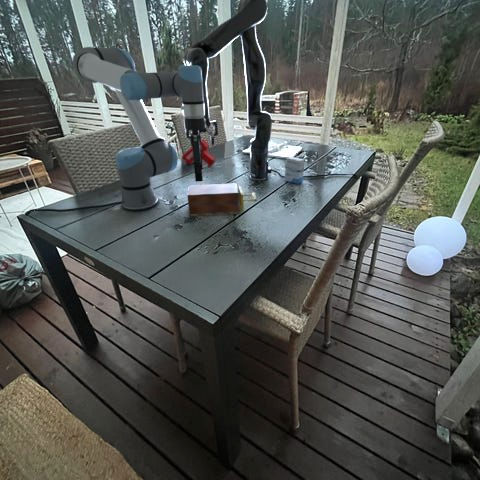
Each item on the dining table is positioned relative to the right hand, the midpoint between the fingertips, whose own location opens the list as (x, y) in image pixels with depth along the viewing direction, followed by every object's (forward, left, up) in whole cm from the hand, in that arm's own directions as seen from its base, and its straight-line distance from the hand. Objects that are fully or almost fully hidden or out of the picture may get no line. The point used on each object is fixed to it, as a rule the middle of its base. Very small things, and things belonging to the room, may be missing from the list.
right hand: (202, 146), depth 122 cm
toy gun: (+6, -43, -21) cm, 49 cm away
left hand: (+1, +21, -6) cm, 21 cm away
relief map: (-45, -70, -21) cm, 86 cm away
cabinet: (-4, +21, -21) cm, 30 cm away
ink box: (-46, -10, -21) cm, 51 cm away
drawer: (-10, +20, -20) cm, 30 cm away
